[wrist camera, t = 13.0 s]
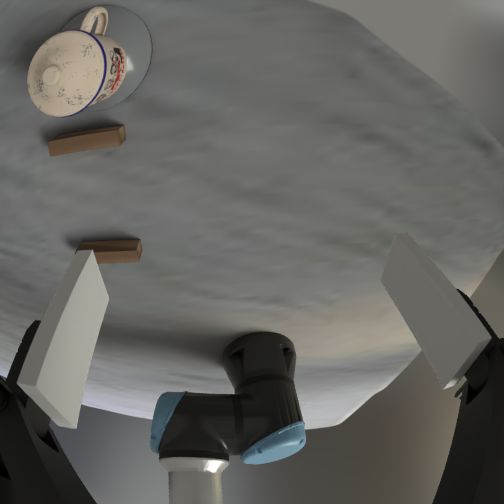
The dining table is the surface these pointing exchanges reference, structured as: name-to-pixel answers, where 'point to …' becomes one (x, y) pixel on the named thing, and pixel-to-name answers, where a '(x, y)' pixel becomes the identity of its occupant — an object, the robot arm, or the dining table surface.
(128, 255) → the walnut cradle
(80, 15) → the grey flat disc
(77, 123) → the dining table surface
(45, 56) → the teacup with lid
